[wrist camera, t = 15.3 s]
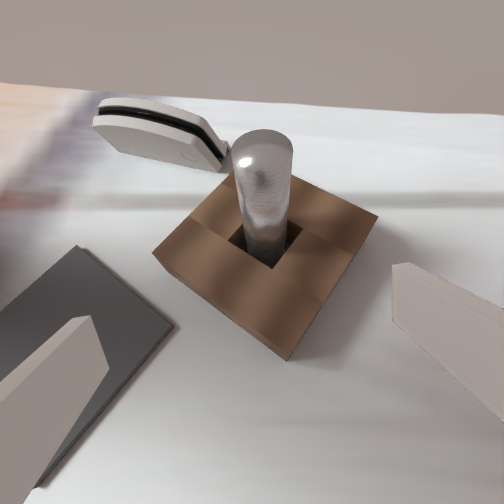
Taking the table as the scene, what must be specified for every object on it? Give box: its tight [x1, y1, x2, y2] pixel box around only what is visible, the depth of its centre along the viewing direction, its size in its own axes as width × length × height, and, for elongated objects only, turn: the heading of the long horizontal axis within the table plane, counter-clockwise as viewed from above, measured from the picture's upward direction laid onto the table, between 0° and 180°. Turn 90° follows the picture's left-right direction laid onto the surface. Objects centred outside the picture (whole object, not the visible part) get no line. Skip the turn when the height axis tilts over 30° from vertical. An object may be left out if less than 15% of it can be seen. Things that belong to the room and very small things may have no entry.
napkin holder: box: [93, 98, 230, 173], centre depth 36 cm, size 17×5×10 cm, turn 71°
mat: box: [0, 245, 174, 489], centre depth 27 cm, size 16×16×1 cm
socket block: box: [152, 171, 378, 361], centre depth 29 cm, size 16×16×4 cm
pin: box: [231, 129, 293, 269], centre depth 24 cm, size 4×4×15 cm
